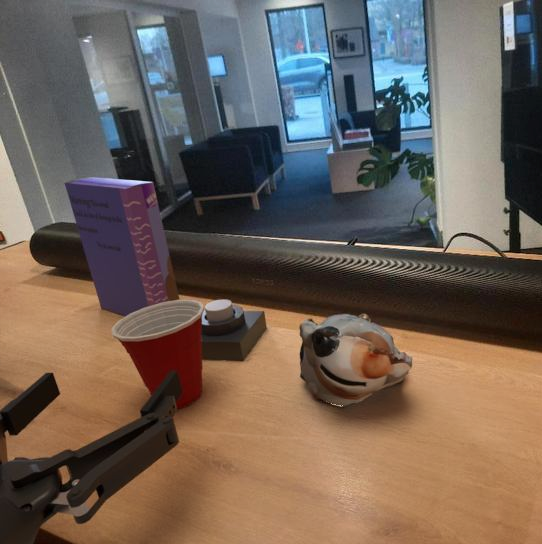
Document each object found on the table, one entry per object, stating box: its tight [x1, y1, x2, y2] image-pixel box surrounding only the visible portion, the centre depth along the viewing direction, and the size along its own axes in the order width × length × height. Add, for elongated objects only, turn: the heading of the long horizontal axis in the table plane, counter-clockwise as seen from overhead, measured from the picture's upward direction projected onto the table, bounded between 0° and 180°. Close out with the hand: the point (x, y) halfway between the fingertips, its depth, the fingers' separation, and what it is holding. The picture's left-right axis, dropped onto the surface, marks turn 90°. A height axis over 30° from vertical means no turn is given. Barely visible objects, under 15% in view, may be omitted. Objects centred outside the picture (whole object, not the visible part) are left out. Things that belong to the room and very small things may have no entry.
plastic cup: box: [110, 299, 205, 410], centre depth 62 cm, size 11×11×12 cm
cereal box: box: [64, 176, 181, 317], centre depth 86 cm, size 17×5×24 cm, turn 58°
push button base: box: [201, 304, 268, 362], centre depth 76 cm, size 12×10×5 cm
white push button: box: [204, 298, 234, 322], centre depth 75 cm, size 4×4×2 cm
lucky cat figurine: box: [298, 312, 413, 407], centre depth 61 cm, size 15×12×14 cm
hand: (114, 382), depth 52 cm, fingers open, 13 cm apart
